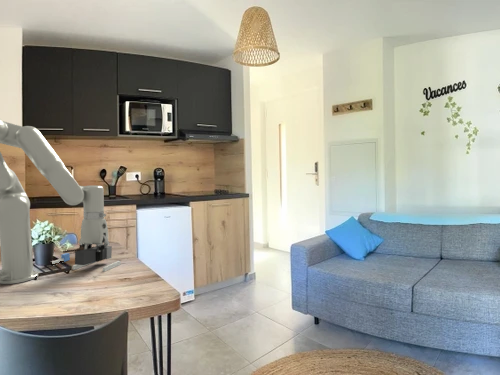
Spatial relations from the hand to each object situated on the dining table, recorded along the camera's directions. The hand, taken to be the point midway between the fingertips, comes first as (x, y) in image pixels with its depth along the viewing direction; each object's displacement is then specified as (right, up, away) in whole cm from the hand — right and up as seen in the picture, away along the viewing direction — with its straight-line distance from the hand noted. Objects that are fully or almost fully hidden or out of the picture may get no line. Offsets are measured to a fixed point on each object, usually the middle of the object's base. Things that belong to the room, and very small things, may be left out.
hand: (94, 260), depth 141 cm
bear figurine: (-17, -2, +27) cm, 32 cm away
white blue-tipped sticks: (-6, -3, +4) cm, 7 cm away
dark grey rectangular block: (0, 0, 0) cm, 0 cm away
